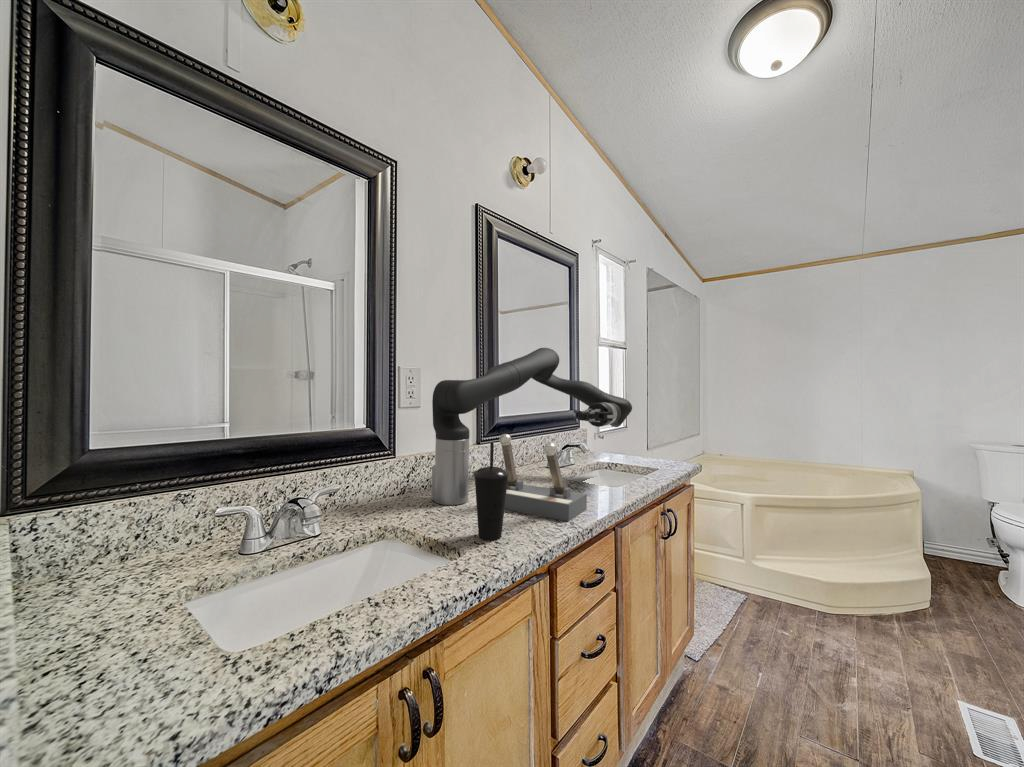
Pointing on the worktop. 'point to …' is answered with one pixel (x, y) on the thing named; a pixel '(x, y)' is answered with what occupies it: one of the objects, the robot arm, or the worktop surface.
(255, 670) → the worktop surface
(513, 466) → the lever
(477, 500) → the drinking cup
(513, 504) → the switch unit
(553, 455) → the lever
